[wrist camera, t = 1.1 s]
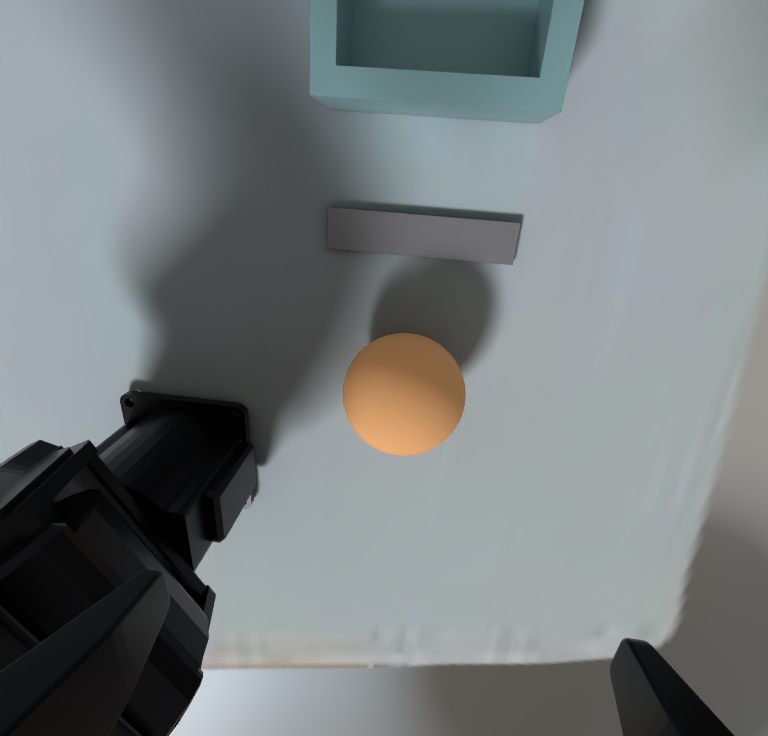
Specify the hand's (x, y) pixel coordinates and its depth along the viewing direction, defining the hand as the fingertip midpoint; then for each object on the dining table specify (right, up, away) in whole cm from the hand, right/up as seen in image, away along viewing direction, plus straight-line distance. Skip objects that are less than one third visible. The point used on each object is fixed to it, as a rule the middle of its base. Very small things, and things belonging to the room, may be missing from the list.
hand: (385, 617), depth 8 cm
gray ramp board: (+2, +10, +9) cm, 14 cm away
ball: (+1, +4, +9) cm, 10 cm away
